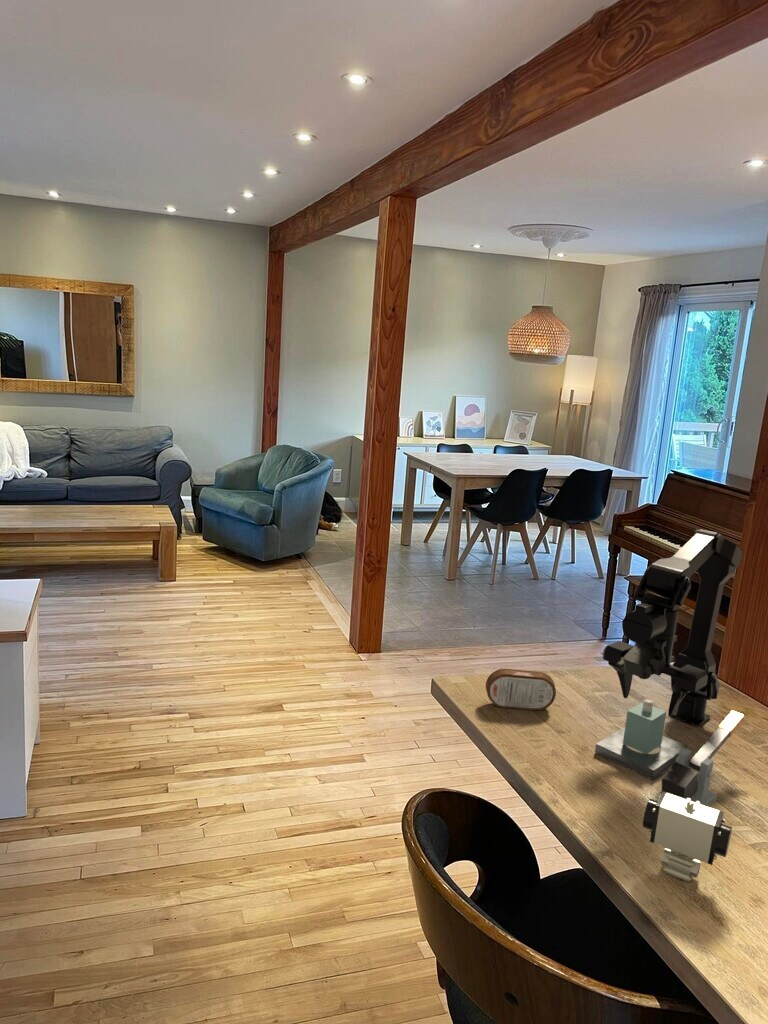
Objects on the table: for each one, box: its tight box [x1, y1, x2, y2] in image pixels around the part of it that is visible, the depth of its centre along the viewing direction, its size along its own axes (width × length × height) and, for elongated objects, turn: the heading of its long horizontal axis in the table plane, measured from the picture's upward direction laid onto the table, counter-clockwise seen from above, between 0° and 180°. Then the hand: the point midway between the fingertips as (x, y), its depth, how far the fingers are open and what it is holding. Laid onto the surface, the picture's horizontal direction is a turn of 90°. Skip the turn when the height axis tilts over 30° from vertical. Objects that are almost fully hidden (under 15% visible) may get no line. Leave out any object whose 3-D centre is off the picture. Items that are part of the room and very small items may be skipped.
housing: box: [623, 699, 667, 754], centre depth 149 cm, size 6×5×9 cm
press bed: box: [594, 726, 689, 781], centre depth 150 cm, size 14×12×2 cm
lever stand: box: [676, 748, 718, 807], centre depth 136 cm, size 6×7×8 cm
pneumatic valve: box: [642, 790, 733, 883], centre depth 115 cm, size 6×12×12 cm, turn 58°
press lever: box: [661, 710, 745, 799], centre depth 138 cm, size 26×4×4 cm, turn 134°
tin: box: [485, 668, 557, 711], centre depth 166 cm, size 15×3×8 cm, turn 87°
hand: (647, 706), depth 148 cm, fingers open, 9 cm apart
